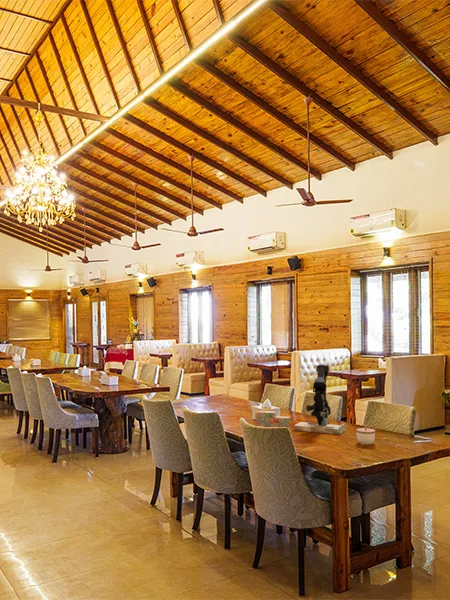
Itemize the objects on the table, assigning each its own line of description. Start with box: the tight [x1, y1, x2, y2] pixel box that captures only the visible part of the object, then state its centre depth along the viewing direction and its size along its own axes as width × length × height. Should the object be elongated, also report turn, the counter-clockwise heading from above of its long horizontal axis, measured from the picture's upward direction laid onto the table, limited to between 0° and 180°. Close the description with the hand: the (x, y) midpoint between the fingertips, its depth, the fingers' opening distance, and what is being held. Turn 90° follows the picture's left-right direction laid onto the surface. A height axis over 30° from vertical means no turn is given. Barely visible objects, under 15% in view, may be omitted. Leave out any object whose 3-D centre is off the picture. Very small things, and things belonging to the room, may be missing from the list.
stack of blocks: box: [254, 410, 291, 430], centre depth 355 cm, size 21×6×12 cm, turn 76°
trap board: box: [293, 421, 346, 435], centre depth 358 cm, size 13×30×4 cm, turn 65°
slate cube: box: [321, 418, 327, 426], centre depth 359 cm, size 4×4×4 cm
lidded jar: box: [355, 426, 376, 446], centre depth 321 cm, size 11×11×9 cm
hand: (319, 425), depth 356 cm, fingers closed
